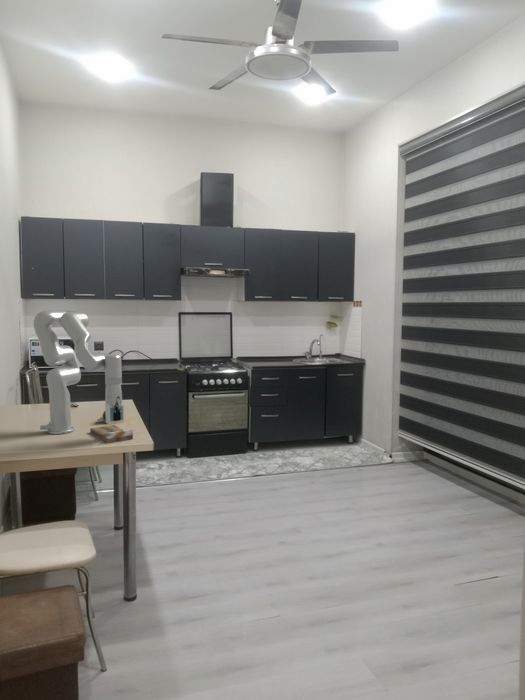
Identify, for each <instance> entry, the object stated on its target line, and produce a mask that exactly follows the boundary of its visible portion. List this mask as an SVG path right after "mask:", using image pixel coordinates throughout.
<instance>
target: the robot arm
mask: <svg viewBox="0 0 525 700" xmlns="http://www.w3.org/2000/svg"><path fill="white" fill-rule="evenodd" d="M89 323H90V319H89V316H88V315H87V314H86V313H84V312H83V311H75V310H67V309H47V310H46V309H44V310H42V311H39V312H38V313H37V314H36V315H35V316H34V319H33V329H34V332H35V334H36V337H37V339H38V342H39V345H40V350H41V353H42V357H43V360H44V362H45V364H46V365H48V366H51V367H53V366H54V367H55V366H56V367H55V368H53V369H50V370H49V371H48V372H47V374H46V379H45V380H46V384H47V387H48V398H49V421H48V423H46V424H45V425H44V424H43V425H39V430H44V431H45V430H46V432H48V433H47V434H51V435H62V434H63V433H64V434H69V433H72V432H74V431H75V427H74V426H72V420H71V419H72V416H71V415H72V414H71V413H72V412H71V411H72V410H71V393H70V391H69V389H68V387H69V386H71V385H72V386H74V385H75V384H78V383H79V382H80V381H81V378H82V372H81V368H80V365H81V366H82V367H83V368H84V369H85V370H86V371H89V372H94V371H101V370H104V380H105V382H104V383H105V396H104V397H105V400H104V401H105V402H104V404H109V405H110V406H112V407H114V413H113V417H114V421H119V420H121V414H120V412H121V410H120V409H121V405H122V403H123V391H122V384H123V375H122V373H123V371H122V369H123V368H122V356H121V355H120V354H108V353H96V354H92V353H91V352H90V351H89V349H88V348H87V343H88V342H89V341H90V340H91V338H92V335H91V333H90V331H89V330H88V328H87V327H88V326H89ZM52 328H62V329H63V330H64V331H65V332H66V333H67V335H68V337H70V339H71V340H72V342H73V344H74V349H73V347H71V346H69V345H60V342H59V338H58V335H57V334H56V333H55V331H54V330H53V329H52ZM79 363H80V364H79ZM57 366H60V367H57ZM67 386H68V387H67ZM115 404H117V406H115Z"/></svg>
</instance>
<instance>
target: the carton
mask: <svg viewBox="0 0 525 700" xmlns="http://www.w3.org/2000/svg"><path fill="white" fill-rule="evenodd" d="M104 405H105V407H104V411H105V414H106V422H105V423H106V424H107V425H108V426H111V425H116V424H117V425H118V424H123V423H125V412H124V411H125V408H124V407H125V406H124V405H125V404H124V402H122V405H121V409H120V410H121V412H120V414H121V420H119V421H114V417H113V413H114V407H112V406H110V405H109V404H106V403H104ZM115 406H117V404H115Z"/></svg>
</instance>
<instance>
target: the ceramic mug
mask: <svg viewBox="0 0 525 700" xmlns="http://www.w3.org/2000/svg"><path fill="white" fill-rule="evenodd" d="M102 422H104V423H106V414H105V410H104V411H103V413H102V415H101V417H100V418H98V419H97V424H98V423H99V424H100V423H102Z"/></svg>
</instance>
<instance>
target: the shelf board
mask: <svg viewBox="0 0 525 700" xmlns="http://www.w3.org/2000/svg"><path fill="white" fill-rule="evenodd" d="M90 434H92V435H93V436H95V437H97V438H98V439H100V440H101V441H103V442H105V443H106V444H112V443H118V442H123V441H124V442H125V441H129V440H130V441H131V440H133V439H134V438H133V437H134V436H133V435H134V431H133V428H130V429H126V430H125V429H123V428H120V427H118V426H117V425H116V424H111V425H107V426H106V425H105V426H98V427H92V428H90Z"/></svg>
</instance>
